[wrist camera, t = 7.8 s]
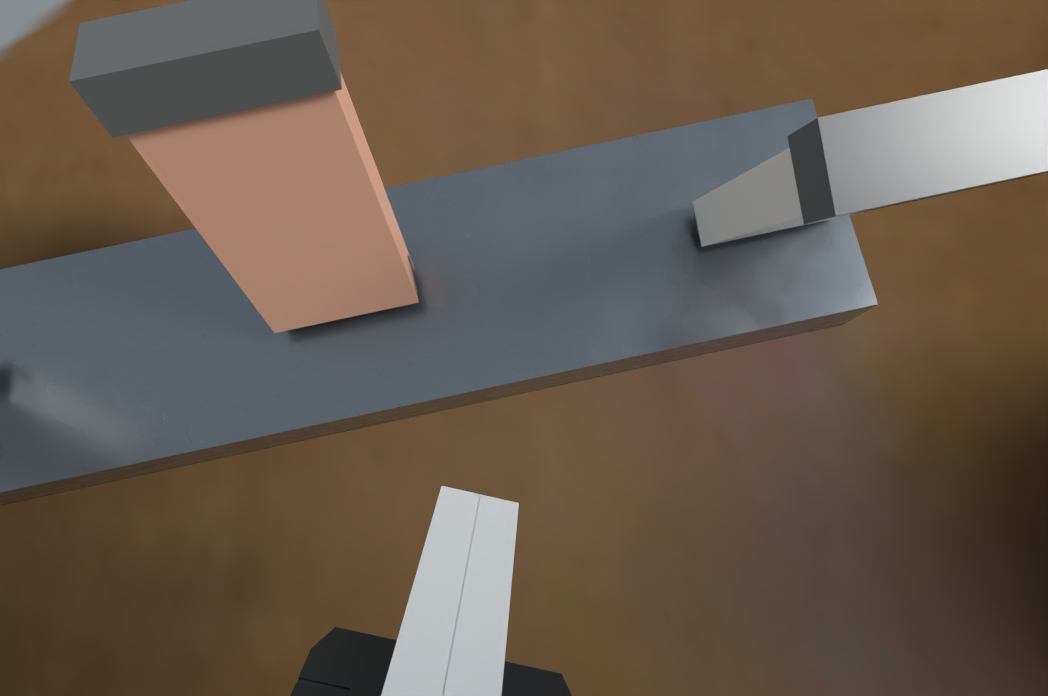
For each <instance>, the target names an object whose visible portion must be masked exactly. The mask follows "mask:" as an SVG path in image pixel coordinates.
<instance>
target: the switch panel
mask: <svg viewBox="0 0 1048 696" xmlns="http://www.w3.org/2000/svg"><path fill="white" fill-rule="evenodd" d="M817 118H818V116H817V113H816V110H815V107H814V104H813V100H812V99H808V100H803V101H799V102H794V103H789V104H784V105H780V106H775V107H770V108H765V109H761V110H756V111H751V112H746V113H742V114H737V115H732V116H727V117H723V118H718V119H713V120H708V121H703V122H699V123H694V124H689V125H684V126H680V127H675V128H670V129H665V130H661V131H656V132H651V133H646V134H642V135H637V136H632V137H627V138H623V139H618V140H613V141H608V142H604V143H599V144H594V145H589V146H585V147H580V148H575V149H570V150H566V151H561V152H556V153H551V154H547V155H542V156H537V157H532V158H528V159H523V160H518V161H513V162H509V163H504V164H499V165H494V166H490V167H485V168H480V169H475V170H471V171H466V172H461V173H456V174H452V175H447V176H442V177H437V178H433V179H428V180H423V181H418V182H413V183H409V184H404V185H399V186H394V187H390V188H385V192H386V194H387V197H388V199H389V202H390V205H391V207H392V210H393V213H394V215H395V218H396V221H397V223H398V226H399V229H400V231H401V234H402V237H403V239H404V242H405V245H406V247H407V250H408V253H409V255H410V258H411V261H412V263H413V266H414V273H415V277H416V282H417V289H418V301H419V303H414V304H409V305H405V306H400V307H395V308H391V309H386V310H381V311H377V312H372V313H367V314H362V315H358V316H353V317H348V318H344V319H339V320H334V321H330V322H325V323H320V324H315V325H311V326H306V327H301V328H297V329H292V330H287V331H283V332H278V333H274V332H273V330H272V329H271V328H270V326H269V325H268V324H267V322H266V321H265V320H264V318H263V317H262V316H261V314H260V313H259V312H258V310H257V309H256V308H255V306H254V305H253V304H252V302H251V301H250V300H249V298H248V297H247V296H246V294H245V293H244V292H243V290H242V289H241V288H240V286H239V285H238V284H237V282H236V281H235V280H234V278H233V277H232V276H231V274H230V273H229V272H228V270H227V269H226V268H225V266H224V265H223V264H222V262H221V261H220V260H219V258H218V257H217V256H216V254H215V253H214V252H213V250H212V249H211V248H210V246H209V245H208V244H207V242H206V241H205V240H204V238H203V237H202V236H201V234H200V233H199V232H198V230H197V229H196V228H195V229H190V230H185V231H181V232H176V233H171V234H166V235H162V236H157V237H152V238H147V239H142V240H138V241H133V242H128V243H123V244H119V245H114V246H109V247H104V248H100V249H95V250H90V251H85V252H81V253H76V254H71V255H66V256H62V257H57V258H52V259H47V260H43V261H38V262H33V263H28V264H24V265H19V266H14V267H9V268H5V269H0V505H4V504H9V503H13V502H18V501H23V500H27V499H32V498H37V497H41V496H46V495H51V494H55V493H60V492H64V491H69V490H74V489H78V488H83V487H88V486H92V485H97V484H102V483H106V482H111V481H116V480H120V479H125V478H130V477H134V476H139V475H144V474H148V473H153V472H158V471H162V470H167V469H172V468H176V467H181V466H185V465H190V464H195V463H199V462H204V461H209V460H213V459H218V458H223V457H227V456H232V455H237V454H241V453H246V452H251V451H255V450H260V449H265V448H269V447H274V446H279V445H283V444H288V443H293V442H297V441H302V440H307V439H311V438H316V437H320V436H325V435H330V434H334V433H339V432H344V431H348V430H353V429H358V428H362V427H367V426H372V425H376V424H381V423H386V422H390V421H395V420H400V419H404V418H409V417H414V416H418V415H423V414H428V413H432V412H437V411H441V410H446V409H451V408H455V407H460V406H465V405H469V404H474V403H479V402H483V401H488V400H493V399H497V398H502V397H507V396H511V395H516V394H521V393H525V392H530V391H535V390H539V389H544V388H549V387H553V386H558V385H562V384H567V383H572V382H576V381H581V380H586V379H590V378H595V377H600V376H604V375H609V374H614V373H618V372H623V371H628V370H632V369H637V368H642V367H646V366H651V365H656V364H660V363H665V362H670V361H674V360H679V359H683V358H688V357H693V356H697V355H702V354H707V353H711V352H716V351H721V350H725V349H730V348H735V347H739V346H744V345H749V344H753V343H758V342H763V341H767V340H772V339H777V338H781V337H786V336H791V335H795V334H800V333H804V332H809V331H814V330H818V329H823V328H828V327H832V326H837V325H842V324H845V323H846V322H848V321H850V320H852V319H853V318H855V317H857V316H858V315H860V314H862V313H864V312H865V311H867V310H869V309H870V308H872V307H874V306H876V305H877V304H878V303H877V300H876V297H875V294H874V291H873V287H872V284H871V281H870V278H869V275H868V272H867V269H866V266H865V262H864V259H863V256H862V253H861V250H860V247H859V244H858V241H857V238H856V234H855V231H854V228H853V225H852V222H851V219H850V216H849V215H847V216H844V217H840V218H835V219H830V220H825V221H821V222H816V223H811V224H807V225H802V226H797V227H793V228H788V229H783V230H778V231H774V232H769V233H764V234H760V235H755V236H750V237H746V238H741V239H736V240H731V241H727V242H722V243H717V244H713V245H708V246H703V247H702V246H701V241H700V237H699V235H698V232H697V229H696V224H695V216H694V206H693V201H695V200H696V199H698V198H700V197H702V196H704V195H705V194H707V193H709V192H711V191H713V190H714V189H716V188H718V187H720V186H722V185H723V184H725V183H727V182H729V181H731V180H732V179H734V178H736V177H738V176H740V175H741V174H743V173H745V172H747V171H748V170H750V169H752V168H754V167H756V166H757V165H759V164H761V163H763V162H765V161H766V160H768V159H770V158H772V157H774V156H775V155H777V154H779V153H781V152H783V151H784V150H786V149H788V148H789V143H788V137H787V136H788V135H790V134H792V133H793V132H795V131H797V130H798V129H800V128H802V127H803V126H805V125H807V124H808V123H810V122H812V121H813V120H815V119H817Z"/></svg>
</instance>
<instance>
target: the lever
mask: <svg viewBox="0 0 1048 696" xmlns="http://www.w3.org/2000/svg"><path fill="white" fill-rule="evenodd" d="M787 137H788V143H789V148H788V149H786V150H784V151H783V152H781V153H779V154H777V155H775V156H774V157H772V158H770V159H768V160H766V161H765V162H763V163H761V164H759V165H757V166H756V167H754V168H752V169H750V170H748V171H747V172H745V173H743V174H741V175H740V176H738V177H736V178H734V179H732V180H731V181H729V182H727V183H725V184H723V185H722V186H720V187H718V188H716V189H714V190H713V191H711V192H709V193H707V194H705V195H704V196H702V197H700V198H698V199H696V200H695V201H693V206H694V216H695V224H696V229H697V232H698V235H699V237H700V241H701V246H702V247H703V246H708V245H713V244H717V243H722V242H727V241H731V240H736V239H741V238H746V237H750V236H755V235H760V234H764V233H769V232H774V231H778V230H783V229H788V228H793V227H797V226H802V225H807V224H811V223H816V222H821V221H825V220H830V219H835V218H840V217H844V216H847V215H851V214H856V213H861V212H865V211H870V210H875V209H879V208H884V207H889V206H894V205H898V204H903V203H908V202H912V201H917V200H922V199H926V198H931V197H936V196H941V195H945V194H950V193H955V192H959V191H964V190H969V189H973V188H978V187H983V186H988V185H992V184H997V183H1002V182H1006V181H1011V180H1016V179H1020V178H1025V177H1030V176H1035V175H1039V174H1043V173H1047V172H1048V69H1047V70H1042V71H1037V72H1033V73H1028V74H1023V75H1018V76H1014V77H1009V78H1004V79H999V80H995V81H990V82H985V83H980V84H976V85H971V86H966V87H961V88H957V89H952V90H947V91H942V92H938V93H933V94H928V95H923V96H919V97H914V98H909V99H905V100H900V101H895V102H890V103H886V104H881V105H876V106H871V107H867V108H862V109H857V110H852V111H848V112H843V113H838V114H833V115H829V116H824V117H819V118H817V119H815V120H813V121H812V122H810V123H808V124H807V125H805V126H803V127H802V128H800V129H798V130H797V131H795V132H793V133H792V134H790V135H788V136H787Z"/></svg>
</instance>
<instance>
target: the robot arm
mask: <svg viewBox="0 0 1048 696" xmlns="http://www.w3.org/2000/svg"><path fill="white" fill-rule="evenodd" d="M518 507H519V503H516V502H512V501H507V500H503V499H498V498H494V497H489V496H485V495H481V494H476V493H472V492H467V491H463V490H458V489H454V488H449V487H445V486H441V490H440V493H439V497H438V500H437V504H436V507H435V511H434V514H433V517H432V521H431V524H430V528H429V531H428V535H427V538H426V542H425V545H424V549H423V552H422V556H421V559H420V562H419V566H418V569H417V573H416V576H415V580H414V583H413V587H412V590H411V594H410V597H409V601H408V604H407V607H406V611H405V614H404V618H403V621H402V625H401V628H400V632H399V635H398V639H397V640H393V639H388V638H383V637H379V636H374V635H370V634H365V633H360V632H356V631H351V630H346V629H342V628H337V627H335V628H334V629H333V630H332V631H331V632H329V633H328V634H327V635H326V636H325V637H324V638H323V639H322V640H320V641H319V642H318V643H317V644H316V645H315V646H314V647H313V648H311V650H310V653H309V655H308V657H307V660H306V662H305V664H304V666H303V669H302V671H301V673H300V676H299V679H298V682H297V683H296V685H295V687H294V689H293V692H292V694H291V696H572V695H571V693H570V691H569V689H568V687H567V685H566V682H565V680H564V678H563V676H562V674H560V673H555V672H551V671H546V670H541V669H537V668H532V667H528V666H523V665H518V664H514V663H509V662H505V651H506V640H507V629H508V618H509V607H510V595H511V584H512V573H513V562H514V551H515V540H516V529H517V518H518Z"/></svg>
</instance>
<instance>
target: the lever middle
mask: <svg viewBox="0 0 1048 696" xmlns="http://www.w3.org/2000/svg"><path fill="white" fill-rule="evenodd" d="M69 82H70V83H71V84H72V86H73V87H74V88H75V90H76V91H77V92H78V93H79V95H80V96H81V97H82V99H83V100H84V101H85V102H86V104H87V105H88V106H89V108H90V109H91V110H92V112H93V113H94V114H95V115H96V117H97V118H98V119H99V121H100V122H101V123H102V124H103V126H104V127H105V128H106V130H107V131H108V132H109V133H110V135H111V136H112V137H117V136H122V135H126V136H127V137H128V139H129V140H130V141H131V143H132V144H133V145H134V147H135V148H136V149H137V151H138V152H139V153H140V155H141V156H142V157H143V159H144V160H145V161H146V163H147V164H148V165H149V166H150V168H151V169H152V170H153V172H154V173H155V174H156V176H157V177H158V178H159V180H160V181H161V182H162V184H163V185H164V186H165V188H166V189H167V190H168V192H169V193H170V194H171V196H172V197H173V198H174V200H175V201H176V202H177V204H178V205H179V206H180V208H181V209H182V210H183V212H184V213H185V214H186V216H187V217H188V218H189V220H190V221H191V222H192V224H193V225H194V226H195V228H196V229H197V230H198V232H199V233H200V234H201V236H202V237H203V238H204V240H205V241H206V242H207V244H208V245H209V246H210V248H211V249H212V250H213V252H214V253H215V254H216V256H217V257H218V258H219V260H220V261H221V262H222V264H223V265H224V266H225V268H226V269H227V270H228V272H229V273H230V274H231V276H232V277H233V278H234V280H235V281H236V282H237V284H238V285H239V286H240V288H241V289H242V290H243V292H244V293H245V294H246V296H247V297H248V298H249V300H250V301H251V302H252V304H253V305H254V306H255V308H256V309H257V310H258V312H259V313H260V314H261V316H262V317H263V318H264V320H265V321H266V322H267V324H268V325H269V326H270V328H271V329H272V330H273V332H274V333H278V332H283V331H287V330H292V329H297V328H301V327H306V326H311V325H315V324H320V323H325V322H330V321H334V320H339V319H344V318H348V317H353V316H358V315H362V314H367V313H372V312H377V311H381V310H386V309H391V308H395V307H400V306H405V305H409V304H414V303H419V301H418V289H417V282H416V277H415V273H414V266H413V263H412V261H411V258H410V255H409V253H408V250H407V247H406V245H405V242H404V239H403V237H402V234H401V231H400V229H399V226H398V223H397V221H396V218H395V215H394V213H393V210H392V207H391V205H390V202H389V199H388V197H387V194H386V192H385V189H384V186H383V184H382V181H381V178H380V176H379V173H378V170H377V168H376V165H375V162H374V160H373V157H372V154H371V152H370V149H369V146H368V144H367V141H366V138H365V136H364V133H363V130H362V128H361V125H360V122H359V120H358V117H357V115H356V112H355V109H354V107H353V104H352V101H351V99H350V96H349V93H348V91H347V88H346V85H345V83H344V80H343V77H342V75H341V72H340V64H339V53H338V42H337V35H336V32H335V29H334V26H333V23H332V21H331V18H330V15H329V12H328V10H327V7H326V4H325V1H324V0H189V1H184V2H180V3H175V4H170V5H165V6H160V7H155V8H150V9H146V10H141V11H136V12H131V13H126V14H121V15H116V16H112V17H107V18H102V19H97V20H92V21H87V22H83V23H80V26H79V32H78V37H77V42H76V48H75V53H74V58H73V64H72V69H71V74H70V80H69Z"/></svg>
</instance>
